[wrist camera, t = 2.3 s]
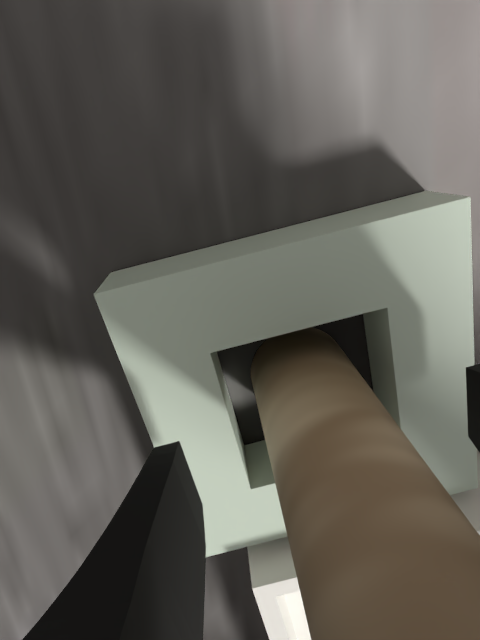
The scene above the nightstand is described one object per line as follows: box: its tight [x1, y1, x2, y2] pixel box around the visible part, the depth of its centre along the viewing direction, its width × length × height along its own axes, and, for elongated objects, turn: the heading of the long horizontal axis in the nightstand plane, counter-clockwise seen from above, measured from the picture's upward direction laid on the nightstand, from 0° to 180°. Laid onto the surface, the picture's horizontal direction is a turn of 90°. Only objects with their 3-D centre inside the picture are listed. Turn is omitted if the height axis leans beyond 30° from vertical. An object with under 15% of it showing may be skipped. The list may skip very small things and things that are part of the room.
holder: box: [93, 191, 478, 557], centre depth 12 cm, size 9×9×2 cm
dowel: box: [251, 327, 480, 640], centre depth 9 cm, size 3×3×9 cm
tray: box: [247, 450, 480, 640], centre depth 15 cm, size 10×10×3 cm
